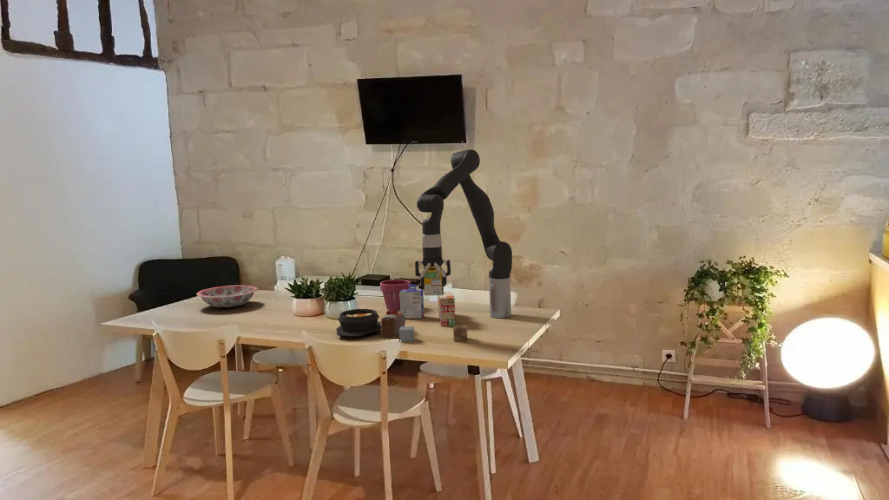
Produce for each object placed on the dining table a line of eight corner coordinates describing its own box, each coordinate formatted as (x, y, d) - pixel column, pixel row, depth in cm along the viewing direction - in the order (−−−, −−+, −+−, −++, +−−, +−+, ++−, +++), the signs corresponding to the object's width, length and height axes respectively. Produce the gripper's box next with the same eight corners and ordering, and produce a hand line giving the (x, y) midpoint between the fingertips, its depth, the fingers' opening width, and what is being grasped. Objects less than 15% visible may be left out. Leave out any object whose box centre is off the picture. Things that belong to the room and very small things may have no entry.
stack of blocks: (438, 314, 310) (437, 288, 308) (452, 314, 310) (451, 287, 308) (440, 326, 288) (439, 297, 287) (455, 326, 289) (454, 297, 287)
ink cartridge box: (424, 316, 308) (423, 284, 306) (422, 318, 303) (420, 286, 301) (403, 315, 310) (402, 284, 308) (400, 318, 305) (398, 286, 303)
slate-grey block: (414, 338, 271) (413, 326, 270) (412, 342, 266) (412, 329, 265) (401, 338, 271) (400, 326, 271) (399, 342, 266) (399, 329, 266)
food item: (388, 329, 287) (387, 306, 286) (406, 329, 286) (405, 306, 285) (379, 337, 274) (378, 313, 272) (399, 338, 273) (398, 313, 271)
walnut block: (467, 338, 269) (467, 325, 268) (466, 341, 264) (466, 328, 264) (454, 338, 270) (454, 325, 269) (453, 341, 265) (453, 329, 264)
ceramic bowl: (234, 298, 363) (233, 283, 362) (271, 303, 346) (270, 288, 345) (185, 309, 340) (184, 293, 339) (222, 315, 323) (221, 299, 322)
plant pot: (414, 305, 331) (413, 279, 329) (407, 312, 317) (406, 284, 315) (385, 305, 333) (384, 279, 331) (377, 311, 319) (376, 284, 318)
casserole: (369, 341, 269) (368, 320, 268) (325, 339, 274) (324, 319, 273) (390, 325, 293) (389, 306, 292) (349, 324, 298) (348, 305, 296)
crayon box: (443, 294, 273) (442, 265, 272) (442, 295, 270) (441, 266, 269) (426, 294, 275) (424, 265, 273) (424, 295, 272) (423, 266, 270)
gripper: (450, 243, 273) (452, 284, 275) (415, 244, 274) (416, 284, 276) (449, 246, 265) (451, 287, 268) (412, 247, 267) (414, 288, 269)
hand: (433, 286), depth 272 cm, fingers closed on crayon box, 7 cm apart
